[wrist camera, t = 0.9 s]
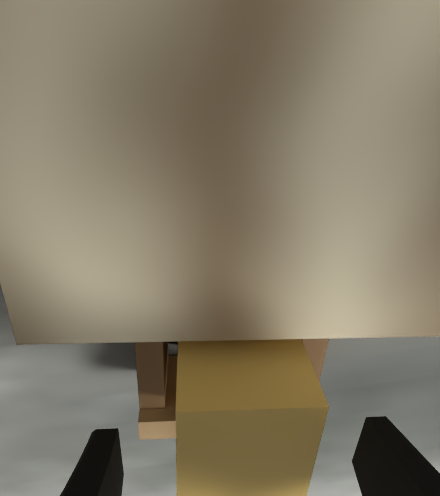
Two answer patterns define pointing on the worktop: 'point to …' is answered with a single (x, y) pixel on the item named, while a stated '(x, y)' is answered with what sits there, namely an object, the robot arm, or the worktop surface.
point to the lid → (219, 169)
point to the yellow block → (247, 418)
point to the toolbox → (165, 381)
